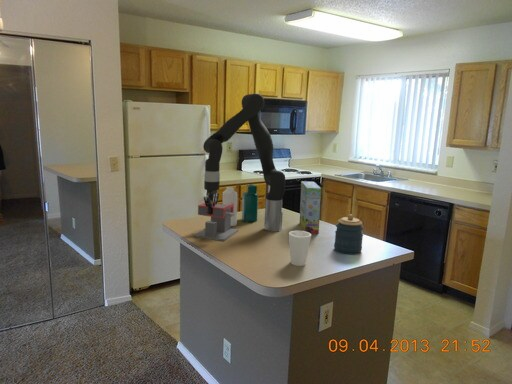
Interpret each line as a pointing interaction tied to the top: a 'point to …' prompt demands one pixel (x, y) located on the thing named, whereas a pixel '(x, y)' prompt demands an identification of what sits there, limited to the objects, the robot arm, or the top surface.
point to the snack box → (310, 207)
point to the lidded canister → (348, 235)
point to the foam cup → (299, 247)
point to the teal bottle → (250, 204)
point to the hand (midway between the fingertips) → (211, 213)
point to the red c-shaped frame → (215, 210)
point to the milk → (229, 198)
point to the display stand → (218, 227)
